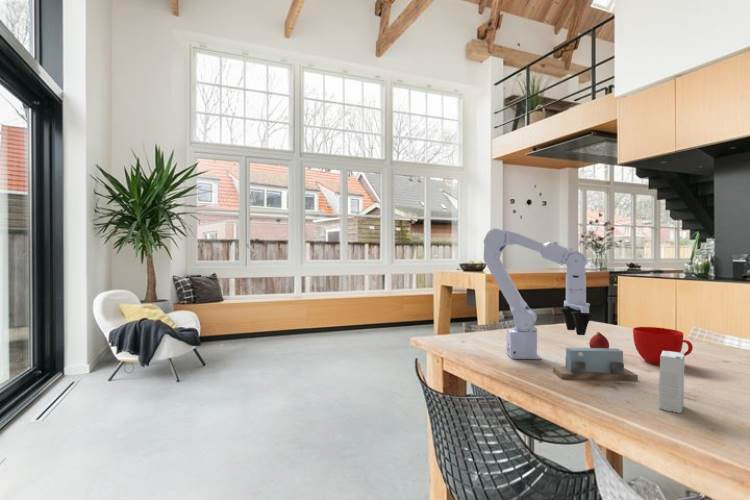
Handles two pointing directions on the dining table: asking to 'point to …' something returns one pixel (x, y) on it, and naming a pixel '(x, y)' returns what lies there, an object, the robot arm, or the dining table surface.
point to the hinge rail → (595, 373)
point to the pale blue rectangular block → (593, 358)
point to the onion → (599, 341)
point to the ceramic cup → (658, 342)
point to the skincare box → (671, 381)
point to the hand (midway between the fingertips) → (575, 332)
